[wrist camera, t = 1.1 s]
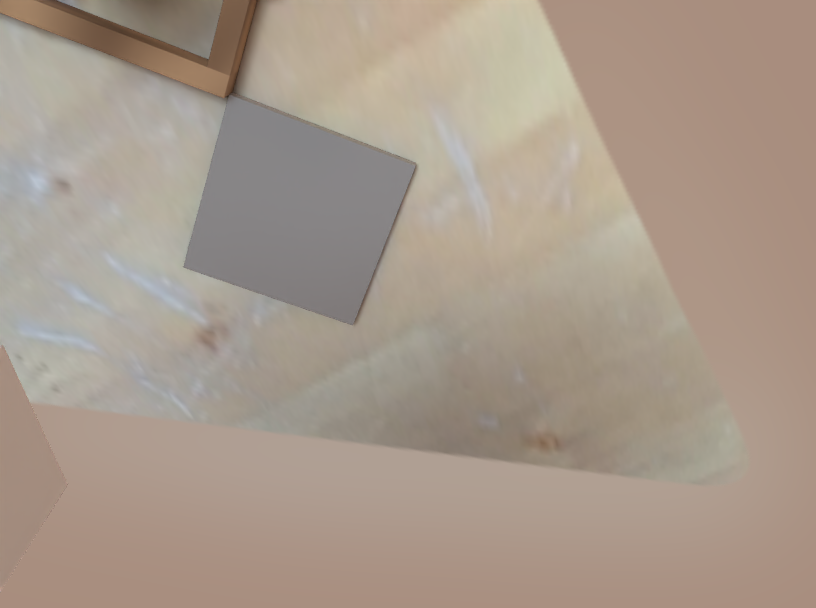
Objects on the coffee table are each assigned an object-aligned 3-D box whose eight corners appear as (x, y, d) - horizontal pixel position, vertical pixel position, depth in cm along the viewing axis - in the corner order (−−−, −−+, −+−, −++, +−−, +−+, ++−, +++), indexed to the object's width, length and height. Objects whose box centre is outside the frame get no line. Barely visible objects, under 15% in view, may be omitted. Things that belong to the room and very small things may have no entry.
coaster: (186, 262, 36) (183, 267, 35) (232, 92, 32) (229, 94, 31) (353, 320, 37) (352, 325, 36) (415, 162, 33) (415, 166, 33)
